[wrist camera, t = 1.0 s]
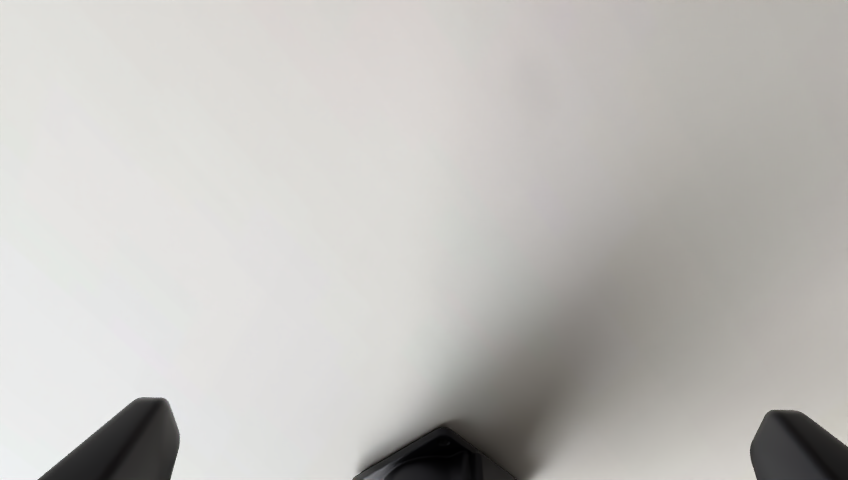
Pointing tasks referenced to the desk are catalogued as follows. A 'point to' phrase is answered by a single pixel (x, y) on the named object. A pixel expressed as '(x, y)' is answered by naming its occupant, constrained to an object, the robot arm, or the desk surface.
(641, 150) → the desk surface
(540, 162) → the desk surface
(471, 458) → the robot arm
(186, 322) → the desk surface
